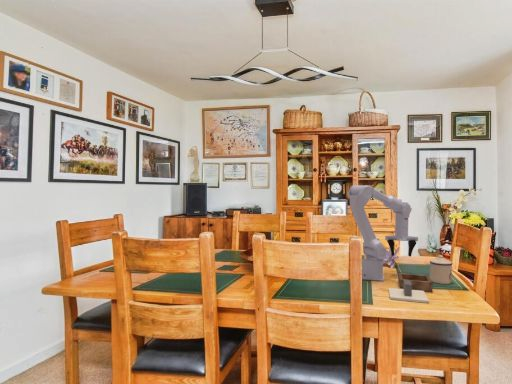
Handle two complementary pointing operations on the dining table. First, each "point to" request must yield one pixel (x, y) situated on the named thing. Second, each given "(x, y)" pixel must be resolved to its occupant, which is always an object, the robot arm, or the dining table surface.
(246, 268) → the dining table surface
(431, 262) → the teacup with lid
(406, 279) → the walnut box
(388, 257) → the water lily
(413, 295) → the cream lid
